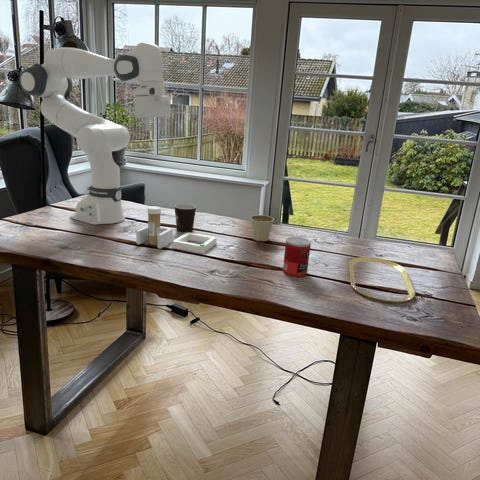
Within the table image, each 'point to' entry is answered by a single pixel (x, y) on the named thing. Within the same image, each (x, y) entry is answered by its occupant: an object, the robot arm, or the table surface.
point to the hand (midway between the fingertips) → (155, 129)
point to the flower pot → (261, 227)
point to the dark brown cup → (185, 217)
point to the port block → (184, 245)
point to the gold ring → (392, 264)
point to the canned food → (296, 256)
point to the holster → (163, 237)
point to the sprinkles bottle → (153, 224)
